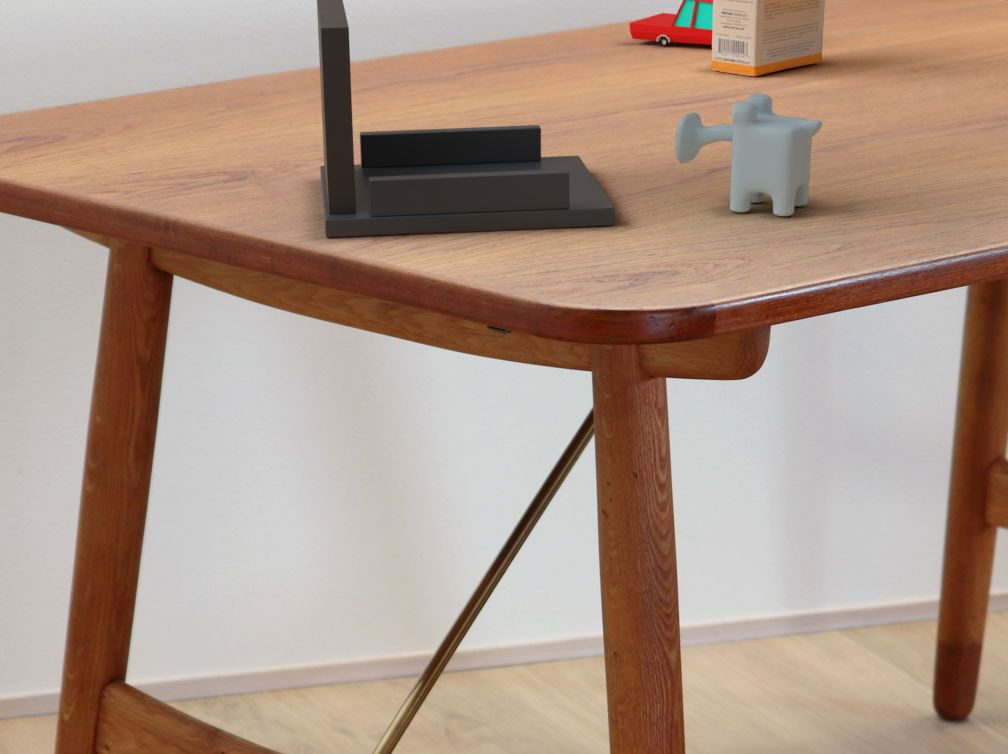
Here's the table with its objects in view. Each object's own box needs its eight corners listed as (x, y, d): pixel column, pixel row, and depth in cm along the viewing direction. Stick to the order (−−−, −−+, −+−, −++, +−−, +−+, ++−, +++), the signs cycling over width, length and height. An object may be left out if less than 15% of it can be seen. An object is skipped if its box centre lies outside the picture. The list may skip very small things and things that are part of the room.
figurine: (693, 193, 113) (697, 87, 111) (826, 204, 110) (833, 95, 107) (668, 208, 110) (672, 99, 107) (805, 220, 106) (811, 108, 104)
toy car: (663, 33, 168) (664, -15, 166) (791, 42, 162) (794, -8, 160) (628, 44, 163) (629, -6, 162) (759, 53, 157) (761, 2, 155)
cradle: (614, 225, 107) (618, 20, 102) (325, 237, 106) (316, 31, 101) (578, 171, 119) (580, -14, 115) (320, 181, 119) (312, -4, 114)
